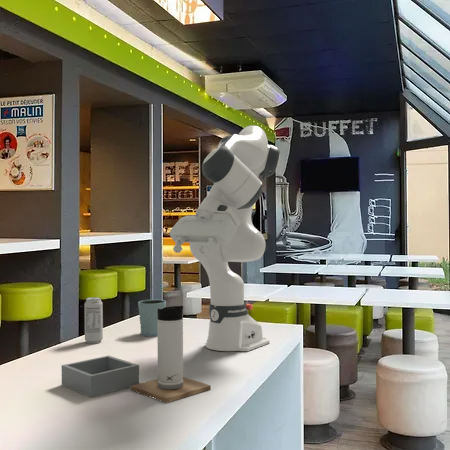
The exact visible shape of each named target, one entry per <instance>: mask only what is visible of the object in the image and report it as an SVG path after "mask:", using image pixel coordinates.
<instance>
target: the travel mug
mask: <svg viewBox="0 0 450 450" xmlns="http://www.w3.org/2000/svg"><path fill="white" fill-rule="evenodd" d="M183 310H184V306H183V305H173V306H166V307H164V308H163V309H158V319H157V321H158V322H157V336H156V337H157V379H158V387H159V388H161V389H165V390H174V389H179V388H181V387H182V386H183V377H184V317H183V313H184V311H183Z"/></svg>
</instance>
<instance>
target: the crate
mask: <svg viewBox="0 0 450 450" xmlns="http://www.w3.org/2000/svg"><path fill="white" fill-rule="evenodd" d="M139 383H140V365H139V364H136V363H133V362H131V361H129V360H128V361H127V360H123V359H121V358H118V357H114V356H112V355H105V356H101V357H95V358H90V359H85V360H80V361H75V362H71V363H67V364H62V365H61V385H62V386H63V387H65V388H69V389H71V390H73V391H75V392H78V393H80V394H82V395H85V396H87V397H89V398H93V397H98V396H102V395H105V394H109V393H112V392H116V391H120V390H123V389H127V388H131V386H132V385H135V384H139Z"/></svg>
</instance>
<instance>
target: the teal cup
mask: <svg viewBox="0 0 450 450" xmlns="http://www.w3.org/2000/svg"><path fill="white" fill-rule="evenodd" d="M137 305H138V313H139V325H140V334H141V336H144V337H157V322H158V321H157V319H158V309H163V308H164V307H167V301H166V300H164V299H143V300H140V301H138V302H137Z"/></svg>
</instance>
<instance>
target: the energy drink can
mask: <svg viewBox="0 0 450 450" xmlns="http://www.w3.org/2000/svg"><path fill="white" fill-rule="evenodd" d="M85 300H86V301H84V341H85V343H87V344H99V343H101V342H102V340H103V339H104V336H103V334H104V333H103V332H104V331H103V330H104V329H103V326H104V325H103V324H104V323H103V322H104V321H103V320H104V319H103V316H104V315H103V313H104V312H103V301H102V300H101V297H97V296H96V297H95V296H93V297H87V298H85Z"/></svg>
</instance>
